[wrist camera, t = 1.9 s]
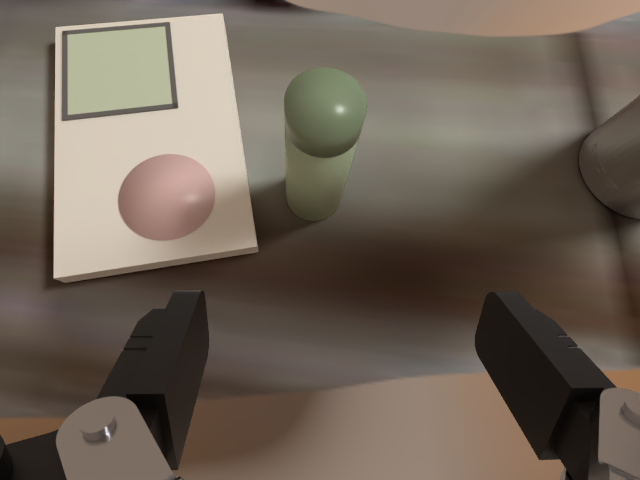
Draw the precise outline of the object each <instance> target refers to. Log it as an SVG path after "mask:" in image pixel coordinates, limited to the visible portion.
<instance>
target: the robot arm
mask: <svg viewBox="0 0 640 480" xmlns="http://www.w3.org/2000/svg"><path fill="white" fill-rule="evenodd" d="M579 164H580V170H581V173H582V176H583V179H584V180H585V182H586V184H587V186H588V188H589V189H590V190H591V192H592V193H593V194H594V195H595V197H596V198H598V199H599V200H600V201H601V202H602V203H603V204H604V205H606V206H607V207H609V208H610V209H612V210H613V211H615V212H617V213H619V214H622V215H624V216H627V217H631V218H635V219H640V95H639V96H638V97H637V98H636V99H634V100H633V101H632V102H630V103H629V104H628V105H626V106H625V107H624V108H623V109H621V110H620V111H619V112H617V113H616V114H615V115H614V116H612V117H611V118H610V119H608V120H607V121H606V122H605V123H603V124H602V125H601V126H600V127H598V128H597V129H596V130H594V131H593V132H592V133H591V134H589V136H588V137H587V138H586V139H585V140H584V142H583V144H582V146H581V149H580V155H579ZM475 348H476V352H477V354H478V357H479V358H480V360H481V362H482V363H483V365H484V367H485V369H486V370H487V372H488V374H489V375H490V377H491V379H492V380H493V382H494V384H495V386H496V387H497V389H498V390H499V392H500V394H501V396H502V397H503V399H504V401H505V402H506V404H507V406H508V407H509V409H510V411H511V413H512V414H513V416H514V417H515V419H516V421H517V423H518V425H519V426H520V428H521V430H522V431H523V433H524V435H525V436H526V438H527V440H528V441H529V443H530V445H531V447H532V448H533V450H534V452H535V453H536V455H537V457H538V459H539V460H552V459H553V460H554V459H560V460H561V462H562V463H563V465H564V469H563V471H562V472H561V475H560V480H640V394H639V393H637V392H634V391H631V390H628V389H623V388H617V387H616V386H615V385H614V384H613V383H612V382H611V381H610V380H609V379H608V378H607V377H606V376H605V375H604V373H603V372H602V371H601V370H600V369H599V368H598V367H597V366H596V365H595V364H594V363H593V362H592V361H591V359H590V358H589V357H588V356H587V355H586V354H585V353H584V352H583V351H582V350H581V349H580V348H578V347H577V344H576V343H575V342H574V341H573V340H572V339H571V338H570V337H567V334H566V333H565V332H564V331H563V329H562V328H561V327H560V326H559V325H558V324H557V323H556V322H555V321H554V320H552V319H551V318H549V317H548V316H546V315H545V314H543V313H542V312H540V311H538V310H534V308H533V307H532V306H531V305H530V304H529V303H528V302H527V301H526V300H525V298H524V297H523V296H522V295H521V294H520V293H518V292H490V293H489V294H488V295H487V296H486V298H485V302H484V305H483V309H482V312H481V316H480V319H479V323H478V327H477V330H476V334H475ZM208 349H209V331H208V321H207V311H206V301H205V294H204V291H203V290H175V291H174V292H173V294H172V296H171V298H170V300H169V302H168V304H167V307H166V309H152V310H151V311H150V312H149V313H148V314H147V315H145V316H144V317H143V318H142V319H141V320H139V321H138V323H137V325H136V327H135V328H134V330H133V332H132V334H131V336H130V339H129V340H128V341H127V343H126V345H125V347H124V351H122V353H121V354H120V356H119V358H118V360H117V362H116V364H115V366H114V367H113V369H112V371H111V373H110V375H109V377H108V379H107V380H106V382H105V384H104V386H103V388H102V390H101V392H100V393H99V395H98V397H97V399H96V400H94V401H91V402H89V403H87V404H85V405H83V406H81V407H80V408H78V409H77V410H75V411H74V412H73V413H72V414H71V415H70V416H69V417H68V418H67V419H66V420H65V421H64V422H63V424H62V425H61V427H60V429H58V430H56V431H53V432H51V433H47V434H44V435H40V436H36V437H33V438H29V439H26V440H22V441H19V442H15V443H11V444H8V445H5V443H4V440H3V438H2V437H1V435H0V480H184V479H183V478H182V477H178V478H176V477H175V476H174V474H173V472H172V471H171V470H178V468H179V464H180V460H181V456H182V452H183V448H184V445H185V440H186V437H187V433H188V429H189V426H190V422H191V418H192V414H193V410H194V406H195V403H196V399H197V395H198V391H199V387H200V384H201V380H202V376H203V372H204V368H205V364H206V361H207V356H208Z"/></svg>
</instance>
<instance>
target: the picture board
mask: <svg viewBox="0 0 640 480" xmlns="http://www.w3.org/2000/svg"><path fill="white" fill-rule="evenodd" d="M257 252H259V251H258V244H257V237H256V231H255V224H254V217H253V211H252V204H251V197H250V190H249V184H248V177H247V170H246V164H245V157H244V150H243V143H242V137H241V130H240V123H239V117H238V110H237V103H236V96H235V90H234V83H233V76H232V70H231V63H230V56H229V49H228V43H227V36H226V29H225V23H224V18H223V13H222V14H210V15H198V16H186V17H174V18H162V19H150V20H138V21H126V22H114V23H102V24H90V25H78V26H65V27H56V39H55V160H54V279H56V280H59V281H61V282H64V283H68V282H74V281H80V280H87V279H93V278H99V277H106V276H112V275H118V274H124V273H131V272H137V271H143V270H150V269H156V268H162V267H168V266H175V265H181V264H187V263H194V262H200V261H206V260H212V259H219V258H225V257H231V256H238V255H244V254H250V253H257Z"/></svg>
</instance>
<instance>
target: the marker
mask: <svg viewBox="0 0 640 480" xmlns="http://www.w3.org/2000/svg"><path fill="white" fill-rule="evenodd" d="M284 112H285V165H286V200H287V203H288V206H289V208H290V209H291V211H292V212H293V213H294V214H295V215H297V216H298V217H300V218H302V219H304V220H308V221H320V220H323V219H326V218H328V217H329V216H331V215H332V214H333V213H334V212H335V211H336V209H337V208H338V205H339V203H340V199H341V196H342V193H343V189H344V186H345V183H346V179H347V176H348V173H349V169H350V166H351V163H352V159H353V156H354V153H355V149H356V146H357V143H358V139H359V136H360V133H361V129H362V126H363V123H364V119H365V116H366V112H367V97H366V94H365V92H364V90H363V88H362V87H361V85H360V84H359V83H358V82H357V81H356V80H355V79H354V78H353V77H352V76H350V75H349V74H347V73H345V72H343V71H340V70H337V69H333V68H314V69H310V70H307V71H305V72H303V73H301V74H299V75H298V76H297V77H295V78H294V79H293V80H292V81H291V83H290V84H289V86H288V88H287V90H286V92H285V97H284Z"/></svg>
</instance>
